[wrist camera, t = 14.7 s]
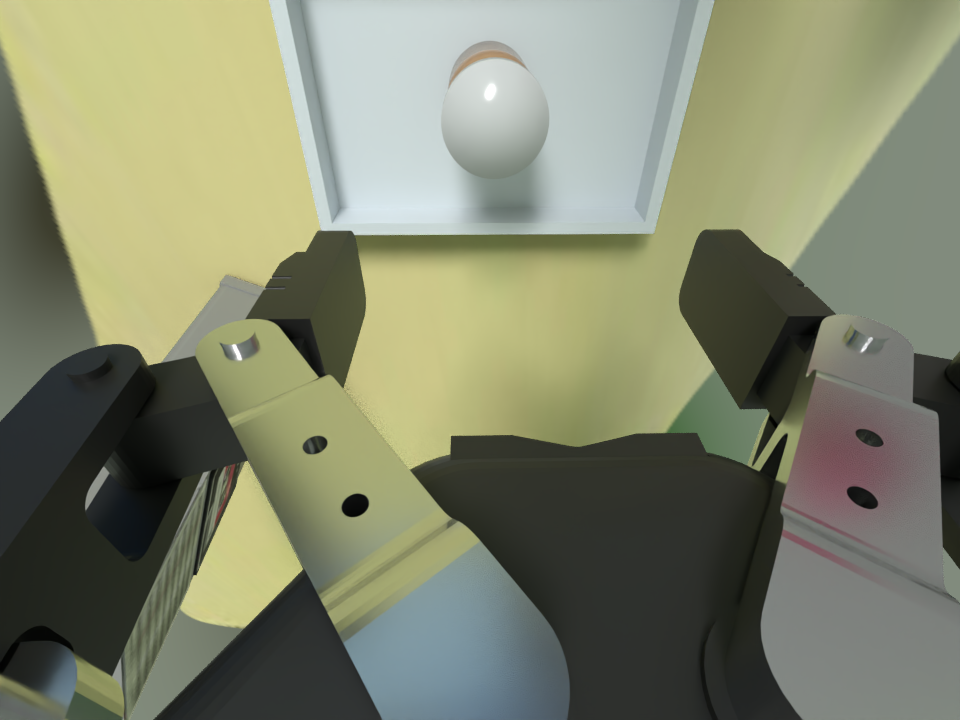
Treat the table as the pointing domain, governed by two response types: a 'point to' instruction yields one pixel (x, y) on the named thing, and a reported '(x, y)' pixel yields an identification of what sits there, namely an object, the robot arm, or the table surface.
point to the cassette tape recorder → (199, 516)
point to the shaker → (493, 112)
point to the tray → (421, 92)
